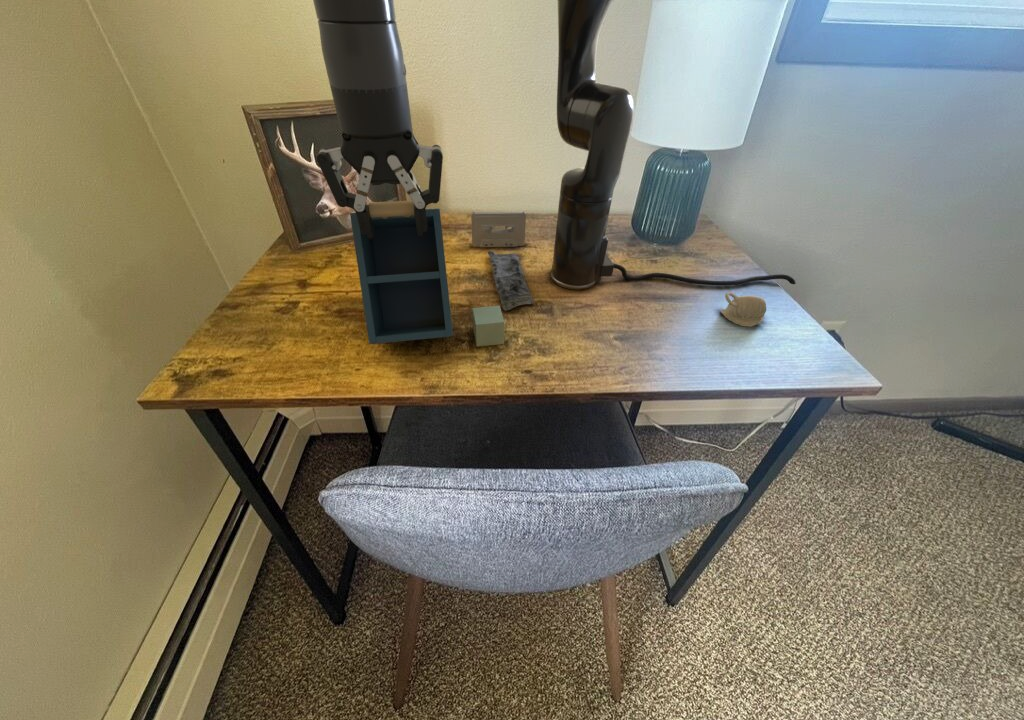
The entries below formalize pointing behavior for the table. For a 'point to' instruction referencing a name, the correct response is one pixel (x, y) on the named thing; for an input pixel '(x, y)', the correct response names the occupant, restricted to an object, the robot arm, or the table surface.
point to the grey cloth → (510, 280)
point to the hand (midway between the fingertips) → (396, 234)
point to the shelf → (402, 275)
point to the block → (488, 325)
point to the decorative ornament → (745, 309)
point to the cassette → (498, 237)
